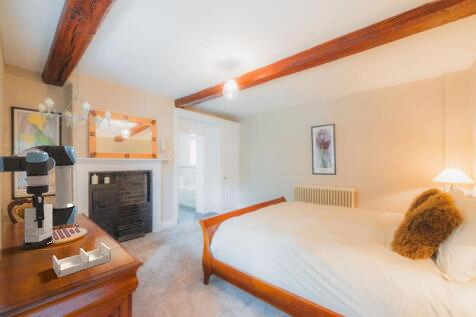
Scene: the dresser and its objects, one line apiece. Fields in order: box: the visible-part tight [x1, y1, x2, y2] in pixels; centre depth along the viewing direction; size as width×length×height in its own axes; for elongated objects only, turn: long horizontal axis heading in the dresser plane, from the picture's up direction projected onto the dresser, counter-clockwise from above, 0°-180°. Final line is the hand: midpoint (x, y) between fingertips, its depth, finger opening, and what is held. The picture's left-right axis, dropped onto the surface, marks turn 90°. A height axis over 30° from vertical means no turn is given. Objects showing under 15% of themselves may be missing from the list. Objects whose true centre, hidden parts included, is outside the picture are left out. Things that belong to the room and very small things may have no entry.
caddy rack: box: [52, 242, 112, 278], centre depth 111 cm, size 14×22×6 cm, turn 139°
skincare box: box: [24, 203, 54, 242], centre depth 100 cm, size 8×7×16 cm
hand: (38, 232), depth 99 cm, fingers closed on skincare box, 10 cm apart
